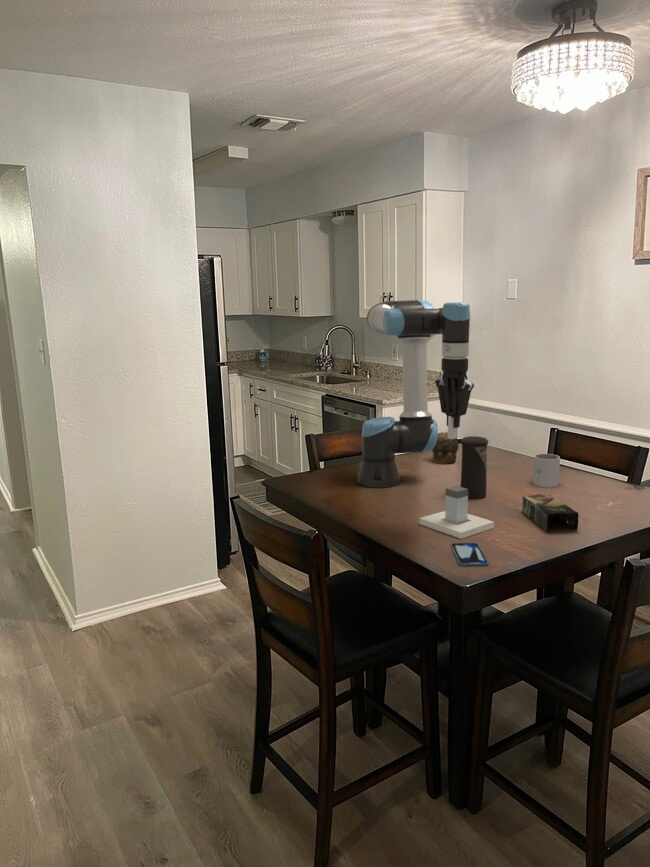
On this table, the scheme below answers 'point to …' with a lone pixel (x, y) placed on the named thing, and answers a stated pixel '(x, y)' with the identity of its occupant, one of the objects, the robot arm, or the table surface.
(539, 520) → the juice carton
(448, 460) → the brown rounded lump
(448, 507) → the plug
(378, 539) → the table surface
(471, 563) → the smartphone
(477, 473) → the container
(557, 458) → the mug
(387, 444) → the robot arm
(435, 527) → the socket
